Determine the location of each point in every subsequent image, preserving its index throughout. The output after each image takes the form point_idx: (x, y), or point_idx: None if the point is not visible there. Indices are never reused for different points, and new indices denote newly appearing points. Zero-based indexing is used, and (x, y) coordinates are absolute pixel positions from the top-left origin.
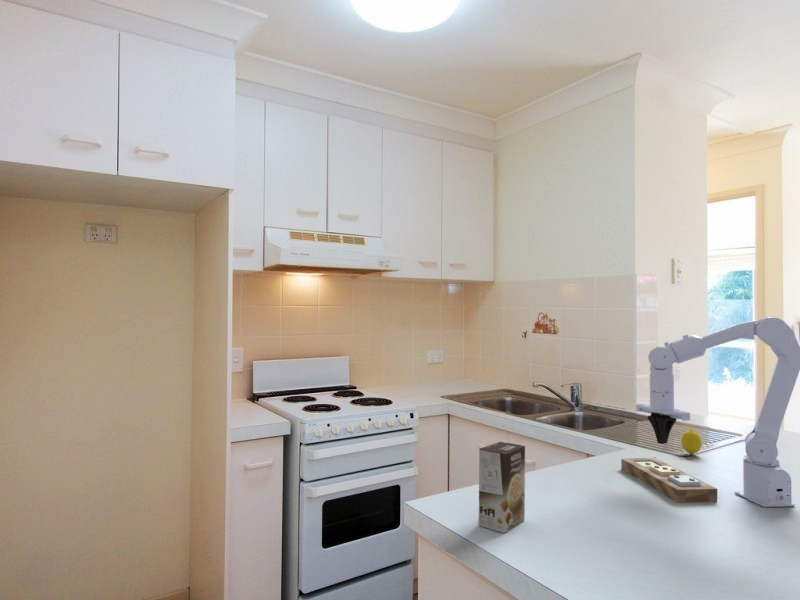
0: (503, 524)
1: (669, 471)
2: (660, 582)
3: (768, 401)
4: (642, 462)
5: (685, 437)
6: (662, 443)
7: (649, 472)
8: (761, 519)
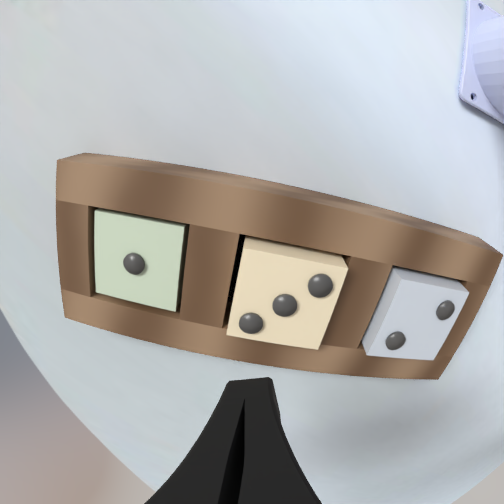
0: None
1: (326, 313)
2: (493, 465)
3: None
4: (107, 266)
5: None
6: (279, 414)
7: (265, 355)
8: None
